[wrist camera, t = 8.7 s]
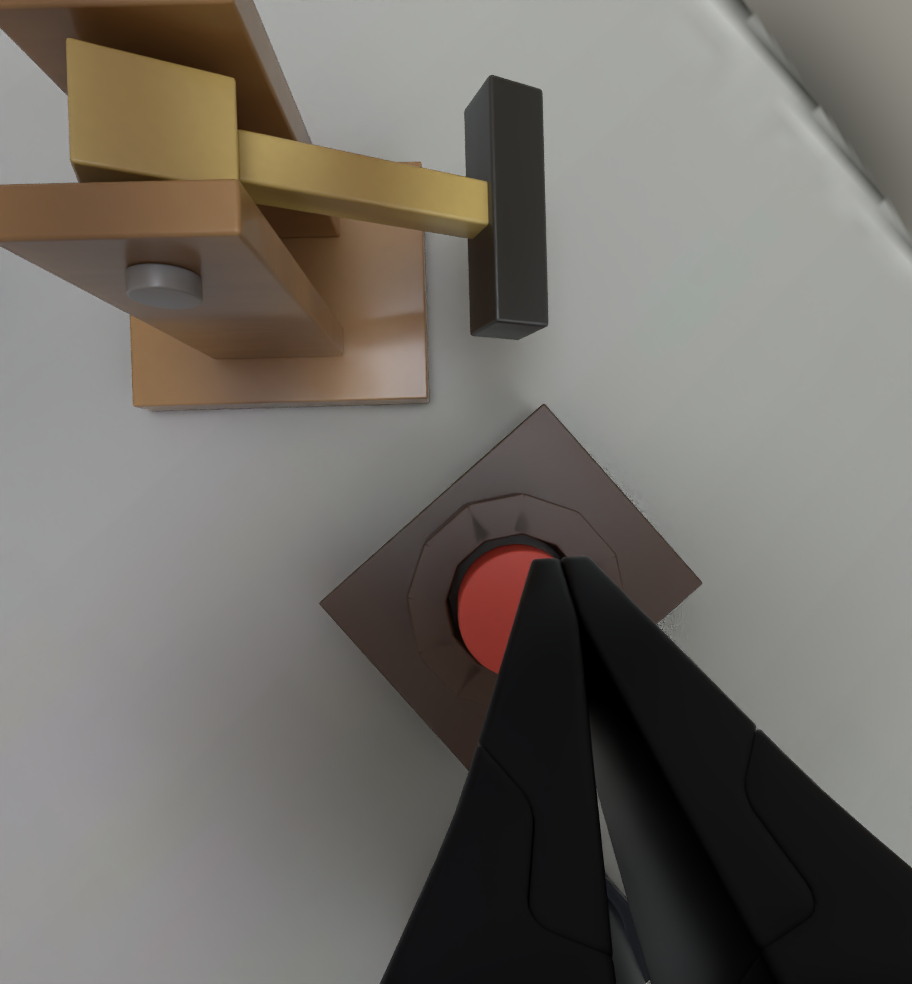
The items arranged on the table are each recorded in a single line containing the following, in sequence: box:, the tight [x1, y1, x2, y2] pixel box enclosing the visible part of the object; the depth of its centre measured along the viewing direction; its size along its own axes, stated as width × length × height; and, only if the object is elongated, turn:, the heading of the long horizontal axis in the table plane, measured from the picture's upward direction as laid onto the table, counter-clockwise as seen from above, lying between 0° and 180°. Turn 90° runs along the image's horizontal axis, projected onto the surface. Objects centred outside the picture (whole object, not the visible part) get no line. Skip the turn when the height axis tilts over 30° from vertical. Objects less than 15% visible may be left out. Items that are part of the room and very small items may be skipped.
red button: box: [458, 544, 554, 674], centre depth 17 cm, size 4×4×2 cm
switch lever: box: [66, 38, 548, 340], centre depth 13 cm, size 10×6×2 cm, turn 92°
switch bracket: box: [0, 0, 429, 411], centre depth 15 cm, size 10×8×11 cm
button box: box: [319, 404, 702, 771], centre depth 19 cm, size 8×10×4 cm
